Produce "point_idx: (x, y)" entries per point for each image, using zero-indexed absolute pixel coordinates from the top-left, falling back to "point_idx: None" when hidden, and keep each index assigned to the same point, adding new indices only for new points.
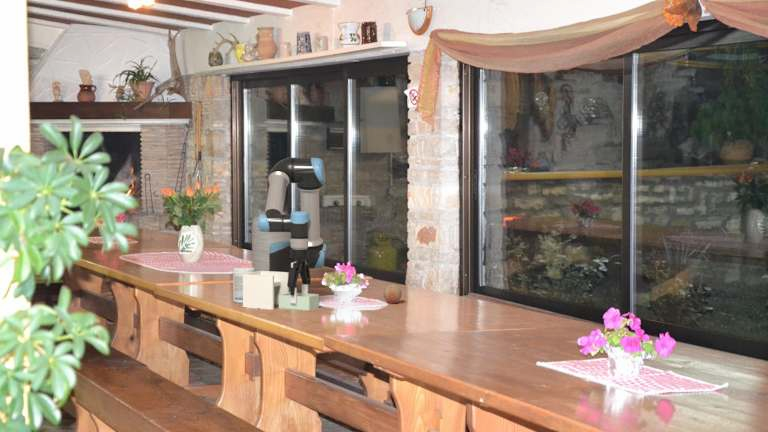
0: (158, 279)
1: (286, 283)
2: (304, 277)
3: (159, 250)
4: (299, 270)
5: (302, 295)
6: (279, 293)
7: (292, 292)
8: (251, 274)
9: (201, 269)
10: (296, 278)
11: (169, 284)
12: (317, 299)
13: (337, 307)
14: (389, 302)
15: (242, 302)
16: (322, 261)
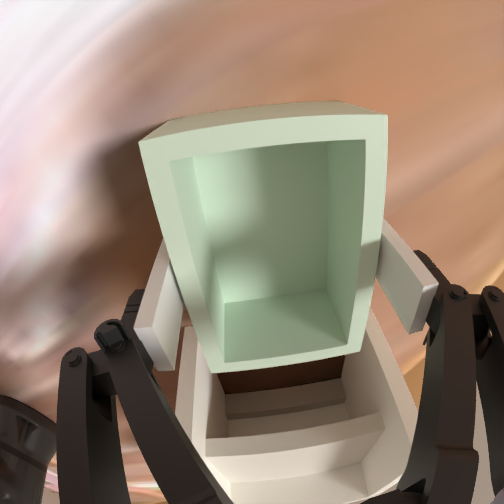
0: (141, 497)
1: (195, 435)
2: (174, 418)
3: (46, 487)
4: (475, 469)
5: (203, 280)
6: (208, 400)
7: (433, 270)
8: (377, 492)
9: (57, 479)
10: (471, 365)
11: (159, 494)
12: (186, 125)
13: (69, 51)
14: None
15: None
16: None
